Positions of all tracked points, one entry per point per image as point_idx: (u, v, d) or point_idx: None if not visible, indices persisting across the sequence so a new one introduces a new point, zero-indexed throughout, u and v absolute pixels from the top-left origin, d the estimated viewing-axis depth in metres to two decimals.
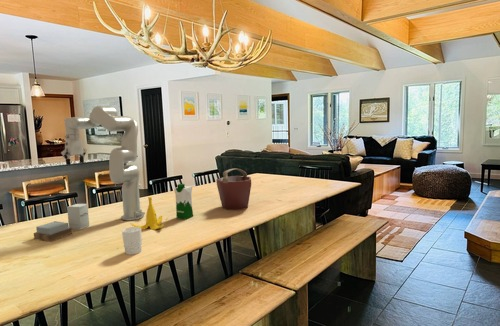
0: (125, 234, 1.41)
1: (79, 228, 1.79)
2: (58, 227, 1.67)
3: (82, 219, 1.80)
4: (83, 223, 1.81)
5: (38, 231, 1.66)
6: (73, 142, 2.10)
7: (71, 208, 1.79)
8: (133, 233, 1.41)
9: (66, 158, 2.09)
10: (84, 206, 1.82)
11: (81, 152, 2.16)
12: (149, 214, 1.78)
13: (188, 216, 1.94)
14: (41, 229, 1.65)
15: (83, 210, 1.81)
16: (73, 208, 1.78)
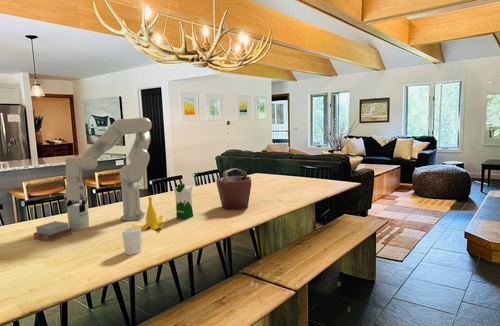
0: (125, 234, 1.41)
1: (79, 228, 1.79)
2: (58, 227, 1.67)
3: (81, 219, 1.80)
4: (83, 223, 1.81)
5: (38, 231, 1.66)
6: None
7: (71, 208, 1.79)
8: (133, 233, 1.41)
9: (84, 204, 1.79)
10: None
11: None
12: (149, 214, 1.78)
13: (188, 216, 1.94)
14: (41, 229, 1.65)
15: None
16: (73, 208, 1.78)
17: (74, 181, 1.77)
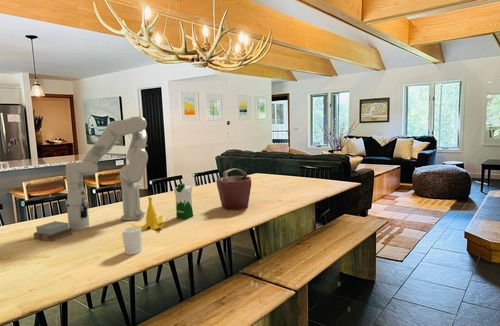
0: (125, 234, 1.41)
1: (79, 228, 1.79)
2: (58, 227, 1.67)
3: (81, 219, 1.80)
4: (83, 223, 1.81)
5: (38, 231, 1.66)
6: None
7: (71, 208, 1.79)
8: (133, 233, 1.41)
9: (85, 210, 1.80)
10: None
11: None
12: (149, 214, 1.78)
13: (188, 216, 1.94)
14: (41, 229, 1.65)
15: None
16: (73, 208, 1.78)
17: (75, 187, 1.77)
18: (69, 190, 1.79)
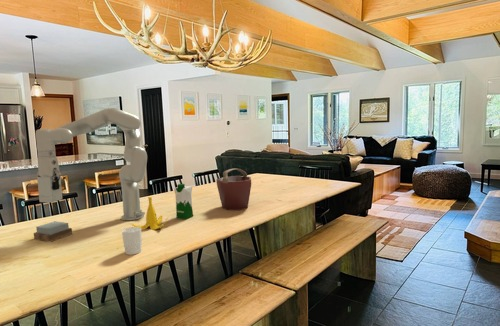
0: (125, 234, 1.41)
1: (50, 201, 1.64)
2: (58, 227, 1.67)
3: (53, 191, 1.65)
4: (55, 196, 1.66)
5: (38, 231, 1.66)
6: None
7: (41, 178, 1.64)
8: (133, 233, 1.41)
9: (57, 181, 1.65)
10: None
11: None
12: (149, 214, 1.78)
13: (188, 216, 1.94)
14: (41, 229, 1.65)
15: None
16: (43, 178, 1.63)
17: (46, 155, 1.62)
18: (40, 159, 1.64)
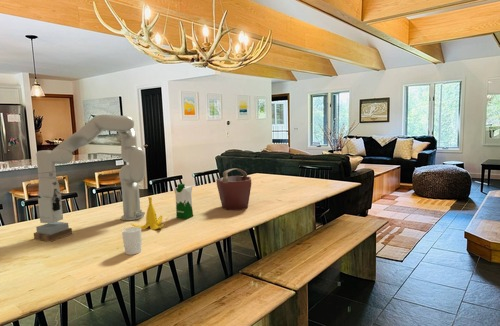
0: (125, 234, 1.41)
1: (51, 222, 1.65)
2: (58, 227, 1.67)
3: (54, 212, 1.65)
4: (55, 217, 1.67)
5: (38, 231, 1.66)
6: None
7: (42, 200, 1.64)
8: (133, 233, 1.41)
9: (57, 202, 1.65)
10: None
11: None
12: (149, 214, 1.78)
13: (188, 216, 1.94)
14: (41, 229, 1.65)
15: None
16: (44, 200, 1.64)
17: (46, 177, 1.63)
18: (40, 180, 1.65)
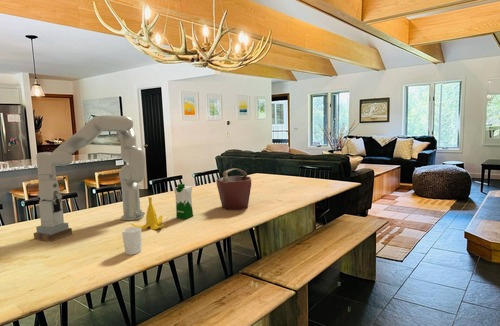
0: (125, 234, 1.41)
1: (51, 225, 1.65)
2: (58, 227, 1.67)
3: (54, 215, 1.66)
4: (56, 220, 1.67)
5: (38, 231, 1.66)
6: None
7: (43, 203, 1.64)
8: (133, 233, 1.41)
9: (58, 203, 1.65)
10: None
11: None
12: (149, 214, 1.78)
13: (188, 216, 1.94)
14: (41, 229, 1.65)
15: None
16: (45, 203, 1.64)
17: (46, 179, 1.63)
18: (40, 182, 1.65)
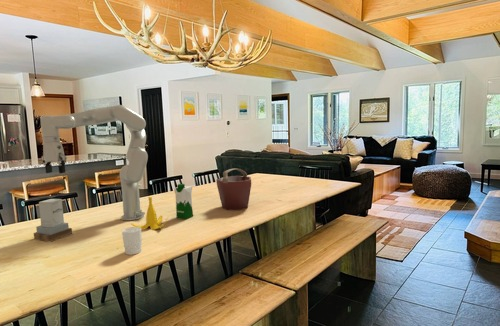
0: (125, 234, 1.41)
1: (51, 225, 1.65)
2: (58, 227, 1.67)
3: (54, 215, 1.66)
4: (56, 220, 1.67)
5: (38, 231, 1.66)
6: None
7: (43, 203, 1.64)
8: (133, 233, 1.41)
9: (63, 164, 1.71)
10: (58, 201, 1.68)
11: None
12: (149, 214, 1.78)
13: (188, 216, 1.94)
14: (41, 229, 1.65)
15: (56, 206, 1.67)
16: (45, 203, 1.64)
17: (51, 141, 1.69)
18: (45, 145, 1.71)
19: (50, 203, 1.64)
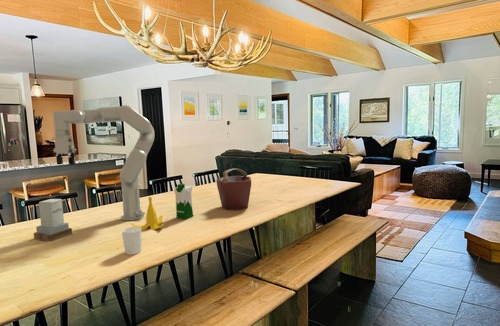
0: (125, 234, 1.41)
1: (51, 225, 1.65)
2: (58, 227, 1.67)
3: (54, 215, 1.66)
4: (56, 220, 1.67)
5: (38, 231, 1.66)
6: None
7: (43, 203, 1.64)
8: (133, 233, 1.41)
9: (73, 156, 1.83)
10: (58, 201, 1.68)
11: None
12: (149, 214, 1.78)
13: (188, 216, 1.94)
14: (41, 229, 1.65)
15: (56, 206, 1.67)
16: (45, 203, 1.64)
17: (62, 134, 1.81)
18: (57, 138, 1.83)
19: (50, 203, 1.64)
